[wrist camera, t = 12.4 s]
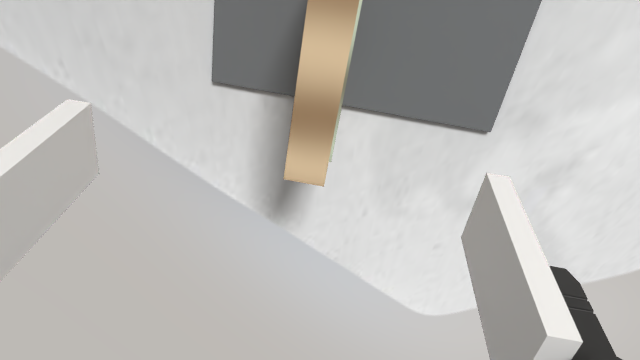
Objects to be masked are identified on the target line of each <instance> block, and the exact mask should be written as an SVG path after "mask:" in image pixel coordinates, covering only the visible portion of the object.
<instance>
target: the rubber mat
mask: <svg viewBox="0 0 640 360" xmlns="http://www.w3.org/2000/svg"><path fill="white" fill-rule="evenodd" d="M541 1H542V0H362V5H361V10H360V16H359V21H358V26H357V31H356V36H355V41H354V46H353V52H352V57H351V62H350V67H349V72H348V77H347V82H346V87H345V93H344V98H343V103H342V105H345V106H350V107H356V108H361V109H367V110H372V111H377V112H383V113H388V114H394V115H399V116H405V117H410V118H416V119H421V120H427V121H432V122H438V123H443V124H448V125H454V126H459V127H465V128H470V129H476V130H481V131H487V132H491V130H492V127H493V125H494V122H495V120H496V117H497V114H498V112H499V109H500V107H501V104H502V102H503V99H504V96H505V94H506V91H507V89H508V86H509V83H510V81H511V78H512V76H513V73H514V71H515V68H516V65H517V63H518V60H519V58H520V55H521V52H522V50H523V47H524V45H525V42H526V39H527V37H528V34H529V32H530V29H531V27H532V24H533V21H534V19H535V16H536V14H537V11H538V8H539V6H540V3H541ZM307 3H308V0H215V6H214V35H213V63H212V81H214V82H219V83H225V84H230V85H235V86H241V87H246V88H252V89H257V90H263V91H268V92H274V93H279V94H285V95H290V96H295V91H296V84H297V76H298V69H299V61H300V54H301V47H302V39H303V32H304V25H305V17H306V10H307Z"/></svg>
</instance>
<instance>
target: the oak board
mask: <svg viewBox="0 0 640 360" xmlns="http://www.w3.org/2000/svg"><path fill="white" fill-rule="evenodd" d="M361 5H362V0H308V3H307V10H306V17H305V25H304V32H303V39H302V47H301V54H300V61H299V69H298V76H297V84H296V91H295V98H294V106H293V113H292V120H291V128H290V135H289V143H288V150H287V157H286V165H285V172H284V179H285V180H291V181H296V182H302V183H307V184H313V185H318V186H324V183H325V178H326V172H327V167H328V162H331V159H332V154H333V149H334V144H335V139H336V134H337V129H338V123H339V118H340V113H341V108H342V103H343V98H344V93H345V87H346V82H347V77H348V72H349V67H350V62H351V57H352V52H353V46H354V41H355V36H356V31H357V26H358V21H359V16H360V10H361Z"/></svg>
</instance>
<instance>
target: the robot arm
mask: <svg viewBox="0 0 640 360" xmlns="http://www.w3.org/2000/svg"><path fill="white" fill-rule="evenodd" d="M98 174H99V168H98V160H97V151H96V143H95V134H94V126H93V117H92V109H91V103H87V102H81V101H76V100H70V99H67V100H66V101H65V102H63V103H62V104H60V105H59V106H58V107H56V108H55V109H54V110H52V111H51V112H50V113H48V114H47V115H46V116H44V117H43V118H41V119H40V120H39V121H37V122H36V123H35V124H33V125H32V126H31V127H29V128H28V129H27V130H25V131H24V132H23V133H21V134H20V135H18V137H16V138H15V139H13V140H12V141H10V142H9V143H8V144H6V145H5V146H4V147H3V148H1V149H0V282H1V281H2V280H3V278H4V277H5V276H6V275H7V274H8V273H9V272H10V271H11V270H12V268H13V267H14V266H15V265H16V264H17V263H18V262H19V261H20V260H21V259H22V258H23V257H24V256H25V254H26V253H27V252H28V251H29V250H30V249H31V248H32V247H33V246H34V244H35V243H36V242H37V241H38V240H39V239H40V238H41V237H42V236H43V235H44V234H45V233H46V231H47V230H48V229H49V228H50V227H51V226H52V225H53V224H54V223H55V222H56V220H57V219H58V218H59V217H60V216H61V215H62V214H63V212H65V211H66V210H67V208H68V207H69V206H70V205H71V204H72V203H73V202H74V201H75V200H76V199H77V197H78V196H79V195H80V194H81V193H82V192H83V191H84V190H85V189H86V188H87V186H88V185H89V184H90V183H91V182H92V181H93V180H94V179H95V178H96V177H97V176H98ZM461 239H462V243H463V248H464V252H465V256H466V260H467V264H468V269H469V273H470V277H471V281H472V286H473V290H474V294H475V298H476V302H477V307H478V311H479V315H480V319H481V322H482V328H483V332H484V336H485V340H486V345H487V349H488V353H489V357H490V360H622V359H620V358H618V357H616V355H615V353H614V351H613V349H612V347H611V345H610V343H609V341H608V339H607V337H606V335H605V333H604V331H603V329H602V327H601V325H600V323H599V321H598V319H597V317H596V315H595V314H593V309H592V307H591V305H590V303H589V302H588V301H587V297H586V295H585V293H584V291H583V289H582V287H581V285H580V283H579V282H578V281H577V280H576V279H575V278H574V277H573V276H572V275H571V274H570V273H569V272H568V271H567V269H564V268H558V267H553V266H549V264H548V262H547V260H546V257H545V255H544V253H543V251H542V248H541V246H540V244H539V242H538V239H537V237H536V235H535V233H534V230H533V228H532V226H531V224H530V221H529V219H528V217H527V215H526V212H525V210H524V208H523V206H522V203H521V201H520V199H519V197H518V194H517V192H516V190H515V188H514V185H513V183H512V181H511V179H510V177H508V176H502V175H496V174H491V173H486V176H485V178H484V181H483V183H482V186H481V188H480V191H479V193H478V196H477V198H476V201H475V203H474V206H473V208H472V211H471V214H470V216H469V219H468V221H467V224H466V226H465V229H464V231H463V234H462V236H461Z"/></svg>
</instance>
